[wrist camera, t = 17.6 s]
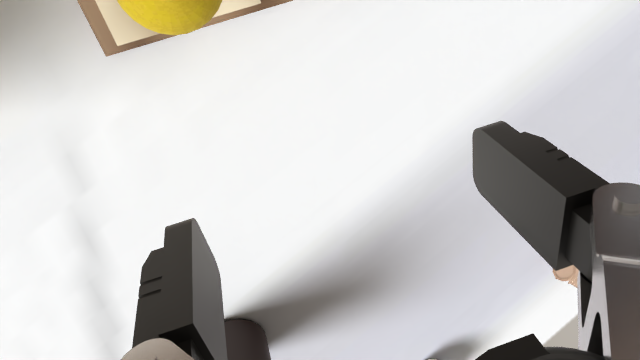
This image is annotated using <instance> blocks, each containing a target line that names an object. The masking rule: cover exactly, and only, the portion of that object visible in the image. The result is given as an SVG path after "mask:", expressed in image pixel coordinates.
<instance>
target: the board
mask: <svg viewBox="0 0 640 360" xmlns="http://www.w3.org/2000/svg"><path fill="white" fill-rule="evenodd" d="M77 1H78V3H79V5H80V7H81V9H82V11H83V12H84V14H85V16H86V18H87V20H88V22H89V24H90V26H91V28H92V30H93V32H94V34H95V36H96V38H97V40H98V42H99V44H100V46H101V48H102V49H103V51H104V53H105V55H106V56H110V55H113V54H116V53H120V52H123V51H126V50H130V49H133V48H136V47H140V46H143V45H146V44H150V43H153V42H156V41H160V40H163V39H166V38H170V37H173V36H176V35H168V34H160V33H157V32H154V31H152V30H149V29H146V28H145V27H143V26H142V25H140V24H139V23H137V22H135V21H134V20H133V19H132V18H131V17H130V16H129V15H128V14H127V13H126V12H125V11H124V10H123V9H122V8H121V6H120V5H119V3H118V2H117V0H77ZM289 1H293V0H222V3H221V5H220V7H219V10H218V11H217V12H216V14H215V15H214V16H213V17H212V19H211V20H210V21H209V22H208V23H206V24H205V25H204V26H202V27H201V28H203V27H206V26H210V25H213V24H216V23H219V22H223V21H226V20H229V19H233V18H236V17H239V16H243V15H246V14H249V13H253V12H256V11H259V10H263V9H266V8H269V7H273V6H276V5H279V4H283V3H286V2H289ZM179 35H180V34H179Z"/></svg>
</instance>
